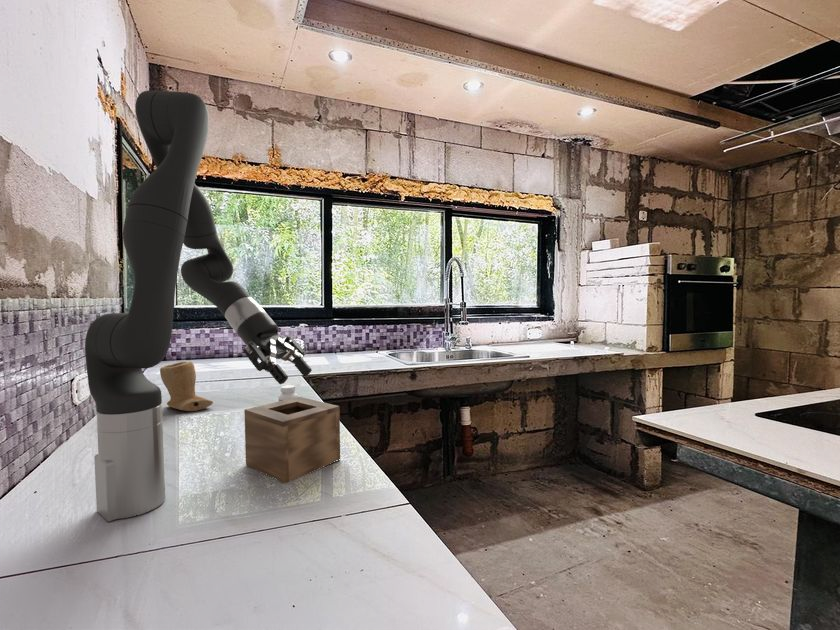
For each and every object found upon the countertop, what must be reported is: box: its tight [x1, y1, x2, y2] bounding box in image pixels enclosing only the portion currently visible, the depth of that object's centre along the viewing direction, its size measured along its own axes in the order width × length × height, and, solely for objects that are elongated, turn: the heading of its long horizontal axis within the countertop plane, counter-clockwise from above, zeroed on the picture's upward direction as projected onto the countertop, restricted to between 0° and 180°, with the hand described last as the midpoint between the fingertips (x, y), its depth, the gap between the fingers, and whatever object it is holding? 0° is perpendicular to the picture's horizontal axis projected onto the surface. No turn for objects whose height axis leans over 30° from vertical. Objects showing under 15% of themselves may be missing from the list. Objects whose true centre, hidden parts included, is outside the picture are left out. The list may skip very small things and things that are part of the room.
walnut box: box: [243, 396, 341, 484], centre depth 91 cm, size 14×14×12 cm
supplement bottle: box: [278, 384, 299, 402], centre depth 123 cm, size 5×5×10 cm
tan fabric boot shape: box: [159, 360, 214, 412], centre depth 135 cm, size 15×12×15 cm
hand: (297, 377), depth 90 cm, fingers open, 8 cm apart
